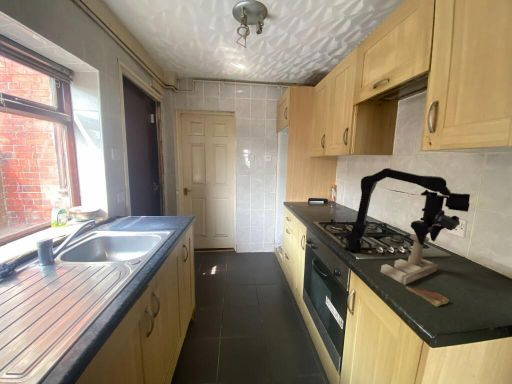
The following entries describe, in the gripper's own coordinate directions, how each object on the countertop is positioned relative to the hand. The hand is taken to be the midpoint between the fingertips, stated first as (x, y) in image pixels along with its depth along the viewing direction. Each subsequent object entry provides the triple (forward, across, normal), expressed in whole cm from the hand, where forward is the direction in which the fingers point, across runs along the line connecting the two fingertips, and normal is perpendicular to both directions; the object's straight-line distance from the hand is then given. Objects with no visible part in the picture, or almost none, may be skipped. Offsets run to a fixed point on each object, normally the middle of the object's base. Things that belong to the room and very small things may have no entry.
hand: (427, 242), depth 92 cm
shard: (+14, -19, -10) cm, 26 cm away
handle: (+14, 0, +3) cm, 14 cm away
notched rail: (+13, -6, +3) cm, 15 cm away
